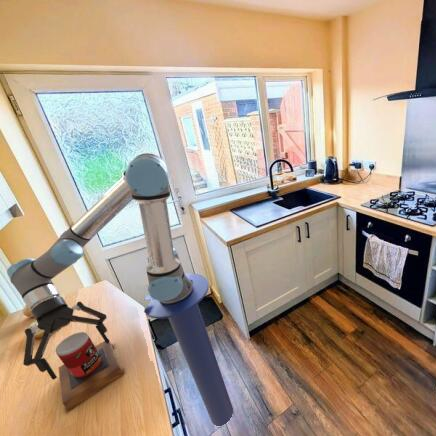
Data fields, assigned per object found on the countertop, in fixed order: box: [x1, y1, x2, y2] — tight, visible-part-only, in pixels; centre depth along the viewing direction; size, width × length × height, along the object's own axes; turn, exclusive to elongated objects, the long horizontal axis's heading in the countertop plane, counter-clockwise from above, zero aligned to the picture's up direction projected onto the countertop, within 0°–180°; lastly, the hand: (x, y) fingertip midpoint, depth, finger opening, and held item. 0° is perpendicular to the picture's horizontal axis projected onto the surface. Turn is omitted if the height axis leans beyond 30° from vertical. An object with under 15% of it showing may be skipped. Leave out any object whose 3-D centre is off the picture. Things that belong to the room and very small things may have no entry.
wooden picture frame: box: [58, 338, 124, 411], centre depth 79 cm, size 14×16×4 cm
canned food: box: [55, 331, 101, 378], centre depth 76 cm, size 8×8×11 cm
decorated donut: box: [26, 319, 45, 339], centre depth 99 cm, size 10×11×4 cm
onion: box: [22, 304, 35, 318], centre depth 108 cm, size 8×8×7 cm
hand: (83, 359), depth 74 cm, fingers open, 13 cm apart
